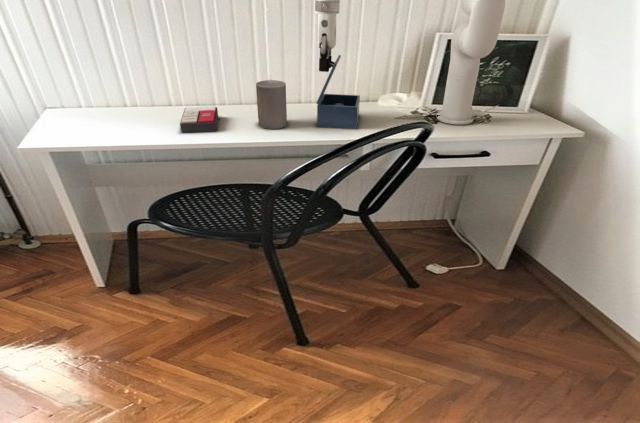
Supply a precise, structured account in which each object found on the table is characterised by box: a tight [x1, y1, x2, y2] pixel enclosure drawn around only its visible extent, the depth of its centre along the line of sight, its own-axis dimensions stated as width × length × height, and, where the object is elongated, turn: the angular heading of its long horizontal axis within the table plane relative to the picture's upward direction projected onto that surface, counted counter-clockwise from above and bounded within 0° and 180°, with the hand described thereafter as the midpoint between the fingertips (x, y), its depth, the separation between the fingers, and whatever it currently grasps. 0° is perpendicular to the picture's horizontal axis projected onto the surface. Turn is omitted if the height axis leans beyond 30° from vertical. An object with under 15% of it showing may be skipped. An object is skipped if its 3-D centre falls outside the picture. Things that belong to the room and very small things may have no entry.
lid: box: [316, 54, 342, 105], centre depth 135 cm, size 14×15×5 cm
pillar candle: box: [255, 78, 288, 130], centre depth 134 cm, size 10×10×15 cm
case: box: [316, 93, 361, 130], centre depth 140 cm, size 13×15×7 cm
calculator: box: [179, 106, 219, 134], centre depth 136 cm, size 11×4×15 cm
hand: (325, 69), depth 133 cm, fingers closed on lid, 5 cm apart
